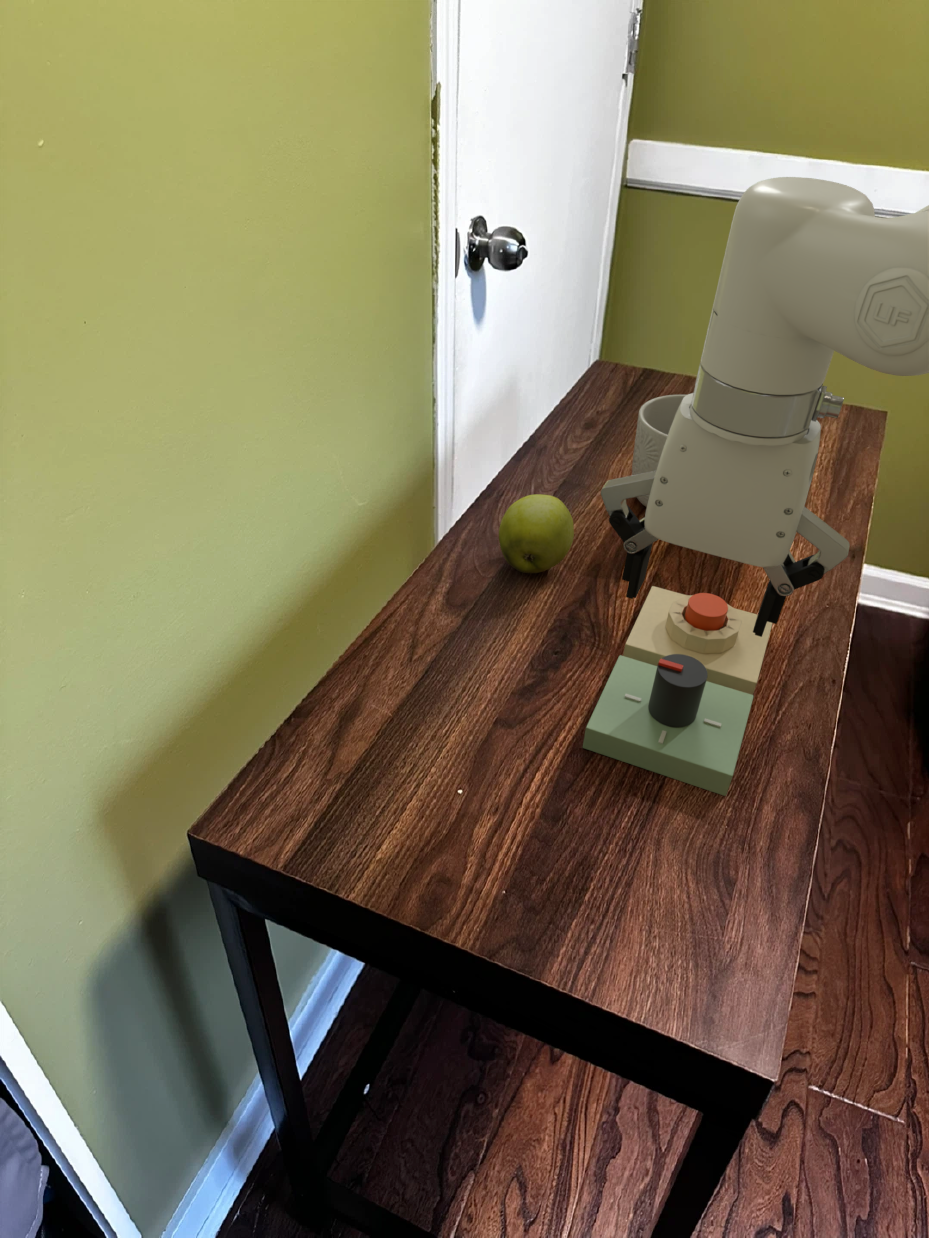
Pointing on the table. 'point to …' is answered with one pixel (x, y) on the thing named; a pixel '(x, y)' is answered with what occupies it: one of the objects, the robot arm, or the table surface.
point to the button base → (699, 640)
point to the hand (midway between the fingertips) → (696, 606)
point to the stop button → (706, 611)
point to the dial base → (669, 729)
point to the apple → (536, 533)
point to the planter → (653, 434)
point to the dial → (677, 690)
